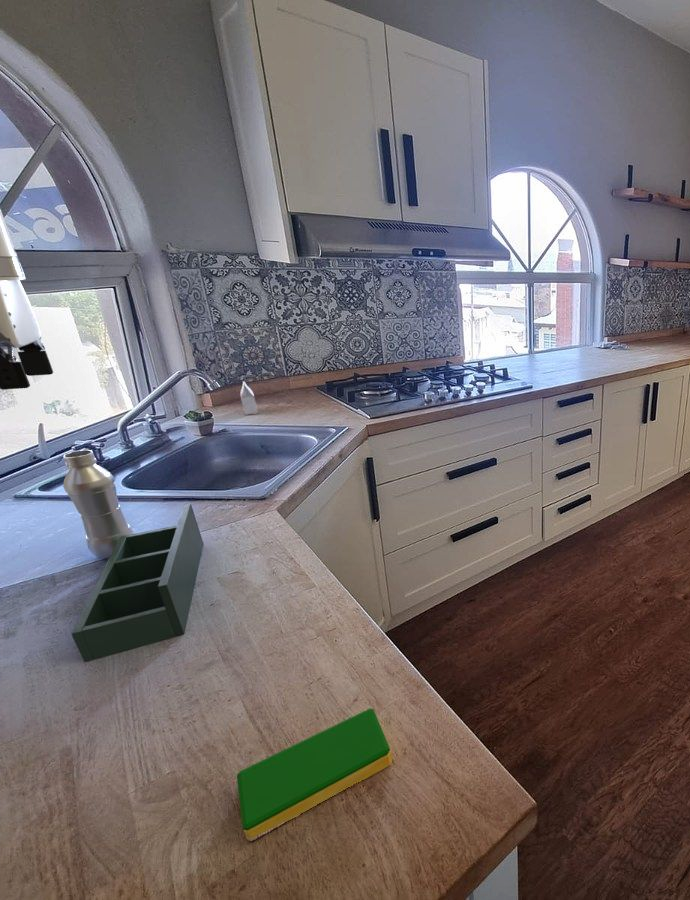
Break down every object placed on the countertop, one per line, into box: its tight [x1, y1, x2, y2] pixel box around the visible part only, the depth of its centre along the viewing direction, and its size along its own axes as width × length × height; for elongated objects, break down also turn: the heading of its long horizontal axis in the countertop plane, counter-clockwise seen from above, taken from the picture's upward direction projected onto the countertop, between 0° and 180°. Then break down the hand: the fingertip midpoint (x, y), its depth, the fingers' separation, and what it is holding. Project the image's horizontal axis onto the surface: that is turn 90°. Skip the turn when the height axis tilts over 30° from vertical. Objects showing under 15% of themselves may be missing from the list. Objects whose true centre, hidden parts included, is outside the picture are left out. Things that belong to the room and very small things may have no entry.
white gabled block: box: [239, 380, 259, 416], centre depth 169 cm, size 4×7×10 cm, turn 35°
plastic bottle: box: [63, 449, 136, 559], centre depth 89 cm, size 6×7×20 cm
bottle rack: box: [71, 502, 204, 663], centre depth 81 cm, size 11×28×9 cm, turn 31°
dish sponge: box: [236, 708, 393, 839], centre depth 55 cm, size 7×14×2 cm, turn 128°
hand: (28, 381), depth 81 cm, fingers open, 9 cm apart
